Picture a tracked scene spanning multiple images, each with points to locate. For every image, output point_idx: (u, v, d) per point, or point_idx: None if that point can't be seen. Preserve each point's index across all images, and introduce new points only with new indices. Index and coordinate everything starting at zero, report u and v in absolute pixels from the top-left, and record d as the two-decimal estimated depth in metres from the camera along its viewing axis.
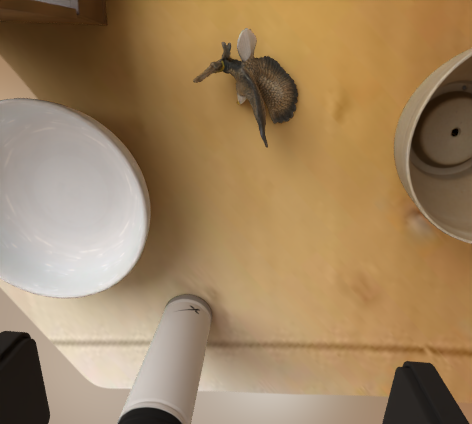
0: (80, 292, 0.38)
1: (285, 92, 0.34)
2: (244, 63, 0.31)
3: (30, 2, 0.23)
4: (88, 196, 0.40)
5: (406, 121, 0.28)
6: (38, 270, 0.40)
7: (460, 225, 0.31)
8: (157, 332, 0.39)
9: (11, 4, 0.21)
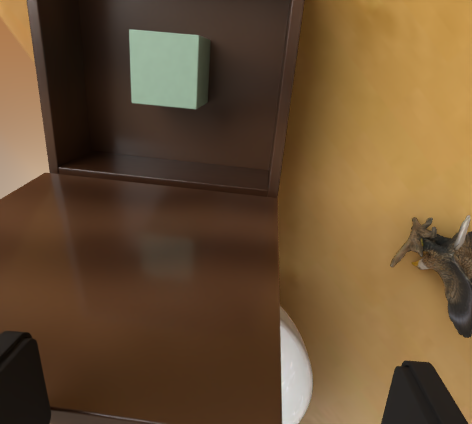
0: None
1: None
2: (454, 250, 0.26)
3: None
4: None
5: None
6: None
7: None
8: None
9: None
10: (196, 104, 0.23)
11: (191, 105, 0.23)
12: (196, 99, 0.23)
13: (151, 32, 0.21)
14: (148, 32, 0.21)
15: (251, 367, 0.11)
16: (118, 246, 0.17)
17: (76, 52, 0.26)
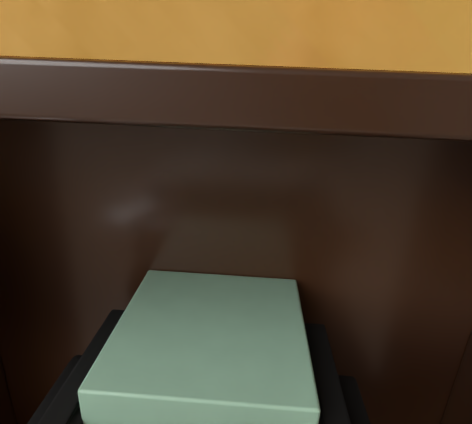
0: None
1: None
2: None
3: None
4: None
5: None
6: None
7: None
8: None
9: None
10: None
11: None
12: None
13: (154, 398, 0.06)
14: (143, 399, 0.06)
15: None
16: None
17: None
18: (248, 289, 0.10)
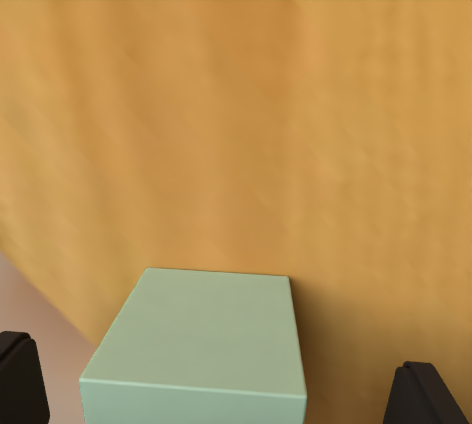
0: None
1: None
2: None
3: None
4: None
5: None
6: None
7: None
8: None
9: None
10: None
11: None
12: None
13: (151, 386, 0.07)
14: (141, 387, 0.07)
15: None
16: None
17: None
18: (242, 285, 0.10)
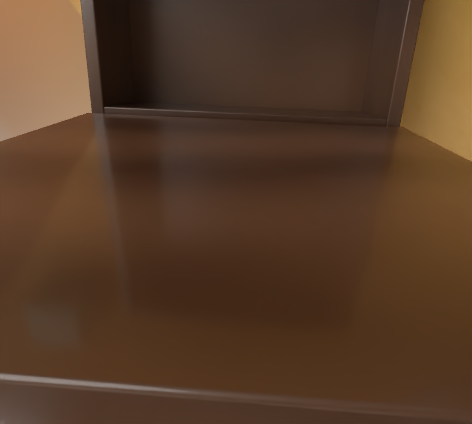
0: None
1: None
2: None
3: None
4: None
5: None
6: None
7: None
8: None
9: None
10: None
11: None
12: None
13: None
14: None
15: None
16: (239, 162, 0.11)
17: None
18: None
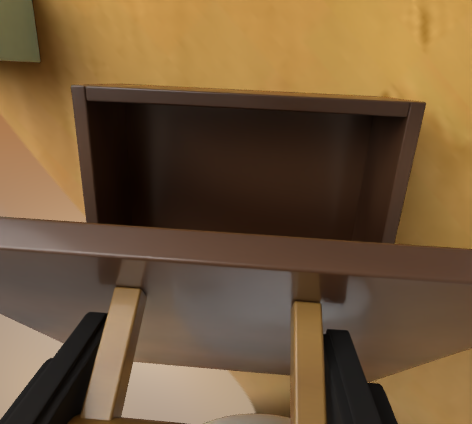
0: None
1: None
2: None
3: None
4: None
5: None
6: None
7: None
8: None
9: None
10: None
11: None
12: None
13: None
14: None
15: None
16: None
17: (125, 201, 0.23)
18: None
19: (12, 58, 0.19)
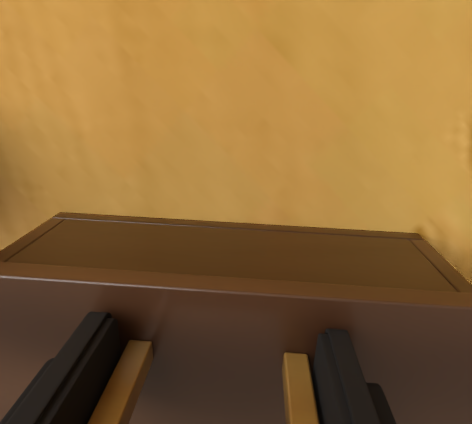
0: None
1: None
2: None
3: None
4: None
5: None
6: None
7: None
8: None
9: None
10: None
11: None
12: None
13: None
14: None
15: None
16: None
17: None
18: None
19: None
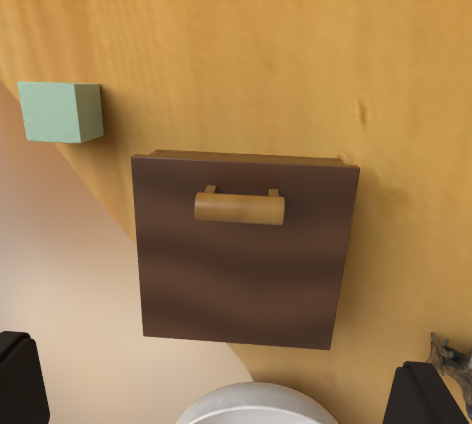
0: None
1: None
2: (468, 368, 0.33)
3: None
4: None
5: None
6: None
7: None
8: None
9: None
10: (80, 139, 0.27)
11: (76, 140, 0.27)
12: (80, 135, 0.27)
13: (35, 83, 0.26)
14: (33, 83, 0.26)
15: None
16: None
17: None
18: None
19: (91, 139, 0.29)
